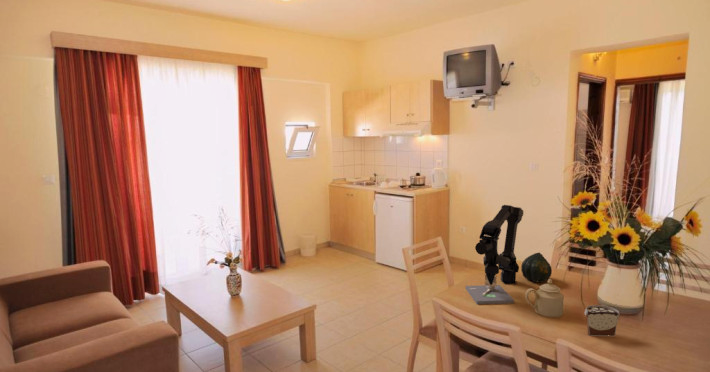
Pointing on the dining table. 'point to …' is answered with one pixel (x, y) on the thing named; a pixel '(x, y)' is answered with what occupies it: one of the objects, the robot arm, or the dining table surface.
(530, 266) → the squash
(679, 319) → the dining table surface
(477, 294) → the tuner dial board
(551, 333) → the dining table surface
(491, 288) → the tuning peg
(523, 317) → the dining table surface
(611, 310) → the food container
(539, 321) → the dining table surface
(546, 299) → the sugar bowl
